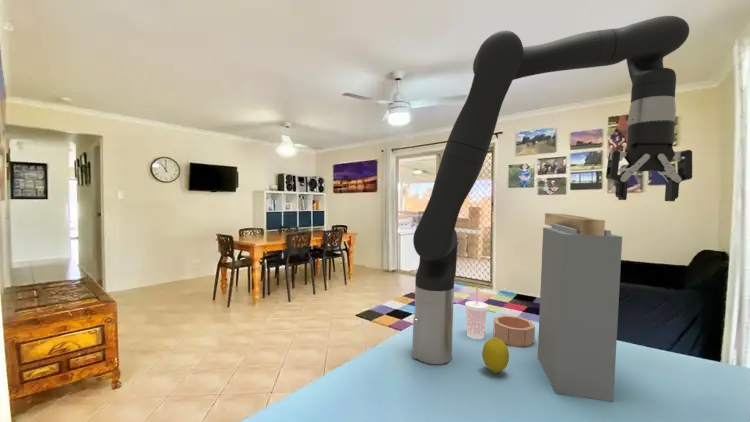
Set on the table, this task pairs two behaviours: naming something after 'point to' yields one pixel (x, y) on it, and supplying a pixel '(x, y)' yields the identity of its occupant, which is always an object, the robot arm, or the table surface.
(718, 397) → the table surface
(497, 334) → the bowl
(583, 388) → the shelf block
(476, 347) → the table surface
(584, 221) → the slat
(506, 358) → the lemon
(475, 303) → the beverage cup
